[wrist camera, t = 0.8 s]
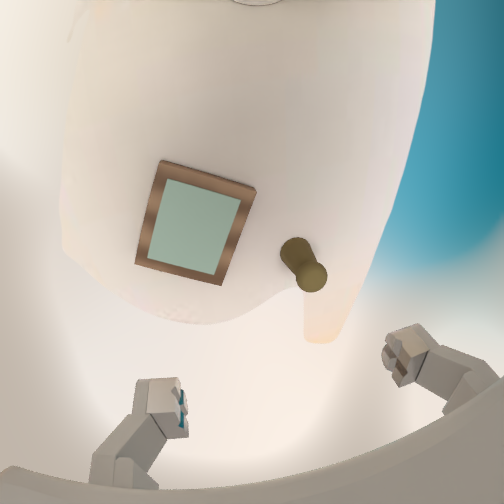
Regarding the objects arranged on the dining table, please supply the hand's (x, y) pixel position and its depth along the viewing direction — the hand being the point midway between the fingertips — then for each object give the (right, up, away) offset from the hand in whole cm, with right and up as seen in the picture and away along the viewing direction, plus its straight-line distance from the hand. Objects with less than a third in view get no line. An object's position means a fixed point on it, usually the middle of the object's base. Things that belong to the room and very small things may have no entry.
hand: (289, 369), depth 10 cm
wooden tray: (-12, +9, +39) cm, 42 cm away
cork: (+7, +4, +45) cm, 46 cm away
